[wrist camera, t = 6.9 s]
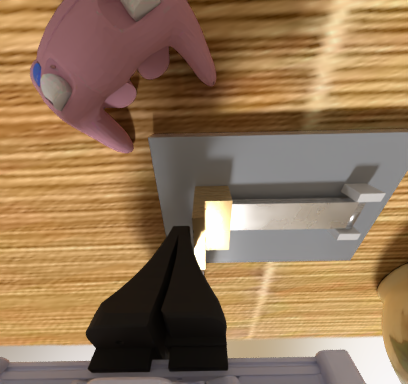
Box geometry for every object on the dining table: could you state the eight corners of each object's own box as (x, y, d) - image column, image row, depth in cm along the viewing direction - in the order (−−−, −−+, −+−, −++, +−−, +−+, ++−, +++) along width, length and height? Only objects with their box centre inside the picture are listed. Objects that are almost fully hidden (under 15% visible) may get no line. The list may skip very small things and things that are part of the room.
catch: (225, 230, 17) (231, 268, 13) (197, 231, 17) (195, 269, 13) (228, 185, 15) (237, 216, 11) (194, 186, 15) (192, 218, 11)
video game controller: (193, 31, 12) (124, -149, 5) (225, 83, 12) (197, -32, 5) (105, 115, 15) (-14, 68, 8) (130, 158, 15) (31, 148, 8)
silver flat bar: (346, 222, 16) (354, 229, 16) (221, 224, 16) (222, 231, 16) (360, 196, 15) (369, 202, 14) (223, 198, 15) (224, 205, 14)
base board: (341, 250, 21) (362, 273, 18) (172, 253, 21) (168, 277, 19) (411, 128, 14) (464, 136, 11) (153, 134, 14) (140, 143, 11)
